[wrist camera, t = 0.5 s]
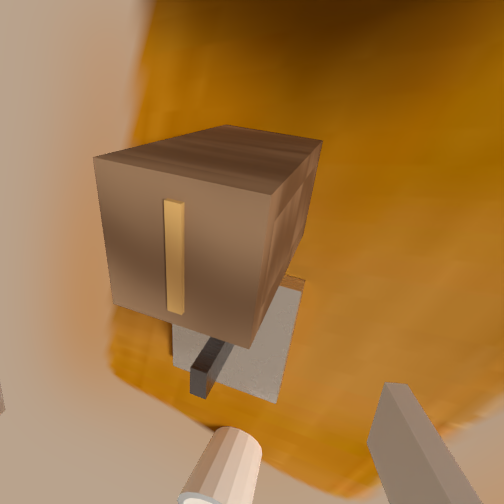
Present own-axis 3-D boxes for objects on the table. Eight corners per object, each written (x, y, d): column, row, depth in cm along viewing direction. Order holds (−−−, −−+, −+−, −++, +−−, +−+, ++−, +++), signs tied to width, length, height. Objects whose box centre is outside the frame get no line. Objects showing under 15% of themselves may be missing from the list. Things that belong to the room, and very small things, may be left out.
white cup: (200, 438, 36) (167, 505, 30) (224, 413, 33) (192, 484, 27) (249, 472, 36) (225, 547, 30) (279, 451, 32) (259, 531, 27)
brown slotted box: (226, 124, 19) (88, 158, 10) (322, 140, 18) (269, 197, 9) (220, 214, 22) (109, 306, 13) (303, 234, 21) (247, 353, 11)
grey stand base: (180, 246, 25) (126, 291, 19) (305, 280, 22) (284, 342, 17) (181, 354, 31) (140, 411, 25) (280, 389, 28) (258, 461, 23)
